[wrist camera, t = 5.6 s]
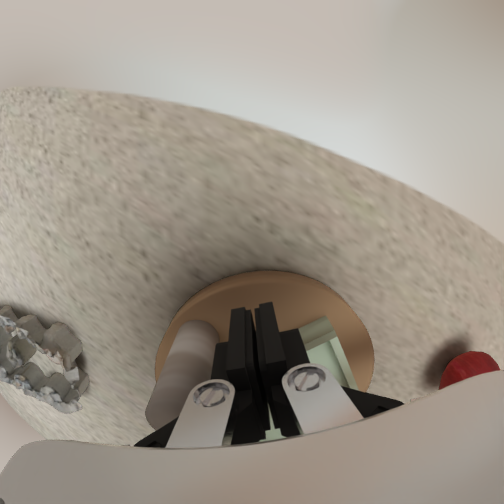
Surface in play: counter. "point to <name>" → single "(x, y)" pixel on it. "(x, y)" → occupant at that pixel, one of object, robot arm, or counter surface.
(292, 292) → the disc
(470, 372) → the onion
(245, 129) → the counter surface
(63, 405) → the egg carton
